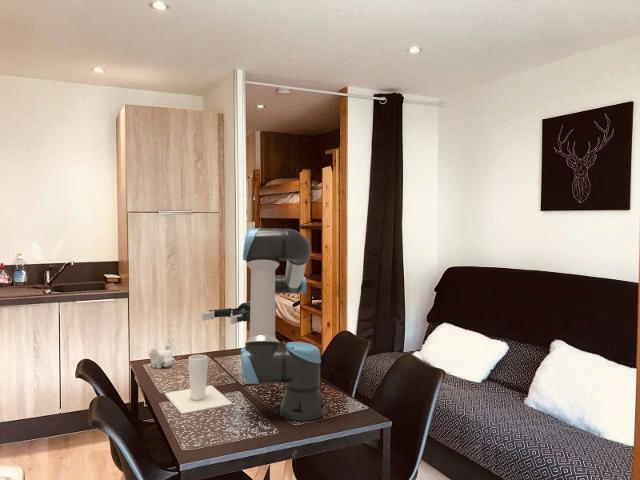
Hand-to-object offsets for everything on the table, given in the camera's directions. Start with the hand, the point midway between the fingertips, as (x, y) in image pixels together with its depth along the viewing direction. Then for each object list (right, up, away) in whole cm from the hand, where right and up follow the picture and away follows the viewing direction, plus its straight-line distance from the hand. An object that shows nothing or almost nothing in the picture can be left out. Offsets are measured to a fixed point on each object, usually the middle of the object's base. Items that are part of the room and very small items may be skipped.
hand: (216, 318), depth 187 cm
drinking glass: (-5, -28, -8) cm, 29 cm away
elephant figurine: (-30, -26, +31) cm, 50 cm away
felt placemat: (-5, -28, -8) cm, 29 cm away
